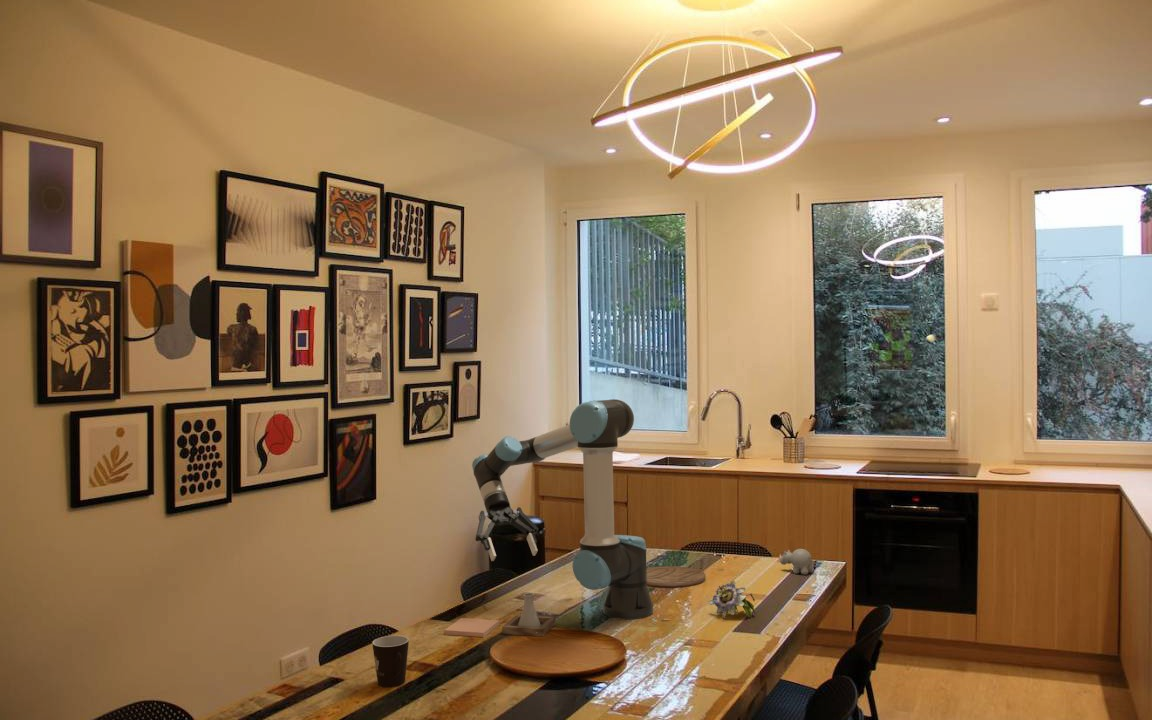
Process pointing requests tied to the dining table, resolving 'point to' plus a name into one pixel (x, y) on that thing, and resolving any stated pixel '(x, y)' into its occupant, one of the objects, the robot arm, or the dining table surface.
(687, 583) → the trivet
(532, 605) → the flask
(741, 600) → the passion flower
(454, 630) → the terracotta coaster
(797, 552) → the chubby cartoon animal
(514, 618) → the walnut holder
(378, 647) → the coffee mug
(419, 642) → the dining table surface
